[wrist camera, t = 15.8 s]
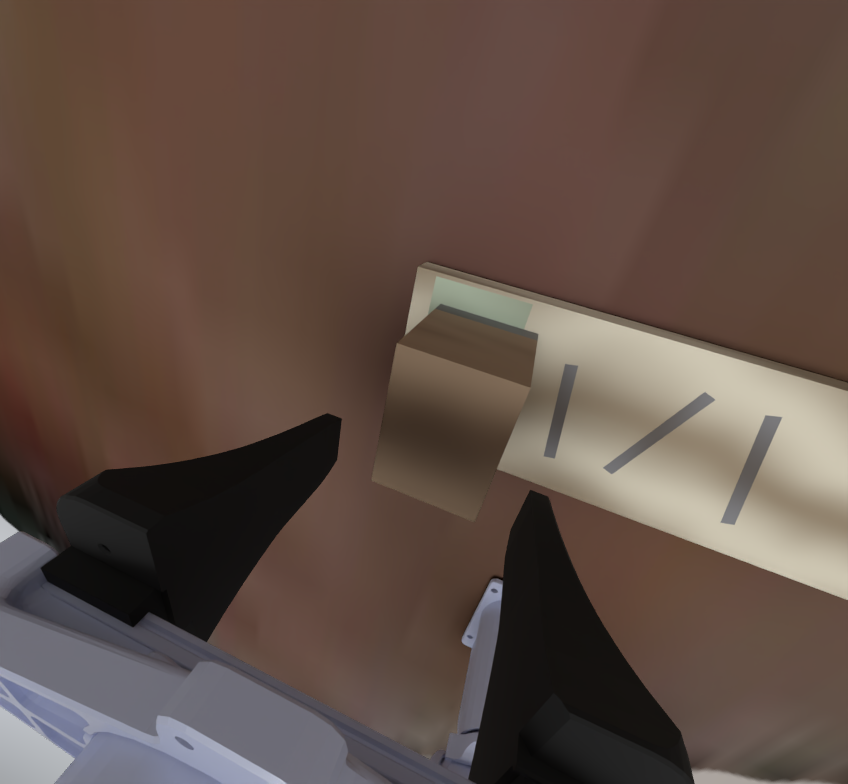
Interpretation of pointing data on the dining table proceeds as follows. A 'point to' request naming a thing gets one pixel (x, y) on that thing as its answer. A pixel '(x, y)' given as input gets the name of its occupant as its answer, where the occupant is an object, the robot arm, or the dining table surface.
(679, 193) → the dining table surface
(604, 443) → the birch board
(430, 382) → the eraser block
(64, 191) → the dining table surface
